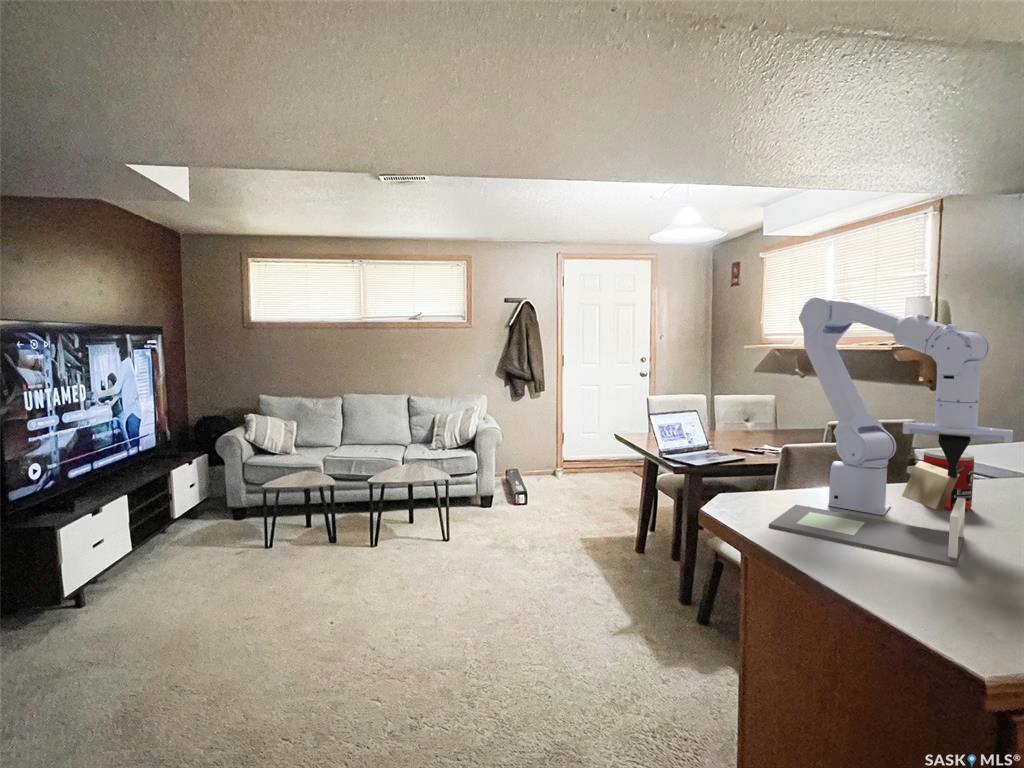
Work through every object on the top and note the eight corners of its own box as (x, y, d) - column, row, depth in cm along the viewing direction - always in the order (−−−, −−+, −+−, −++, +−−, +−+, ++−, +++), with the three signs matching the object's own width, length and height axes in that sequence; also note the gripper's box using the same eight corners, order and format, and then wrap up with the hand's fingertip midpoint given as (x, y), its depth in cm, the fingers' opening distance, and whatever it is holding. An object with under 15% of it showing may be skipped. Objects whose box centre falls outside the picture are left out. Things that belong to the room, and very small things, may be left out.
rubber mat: (768, 527, 96) (768, 523, 96) (795, 507, 108) (795, 504, 108) (955, 567, 78) (955, 563, 78) (963, 538, 90) (963, 535, 90)
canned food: (960, 515, 102) (963, 458, 101) (913, 504, 109) (915, 451, 109) (979, 509, 106) (982, 454, 105) (932, 499, 113) (935, 448, 112)
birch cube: (942, 512, 92) (901, 496, 95) (945, 504, 96) (906, 489, 100) (956, 480, 90) (914, 466, 94) (959, 474, 94) (919, 460, 98)
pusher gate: (948, 556, 80) (950, 515, 79) (955, 534, 89) (957, 497, 89) (956, 558, 79) (958, 517, 79) (963, 535, 88) (965, 498, 88)
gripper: (901, 400, 94) (898, 476, 95) (1014, 406, 84) (1009, 490, 85) (907, 397, 99) (904, 469, 100) (1014, 402, 89) (1010, 482, 90)
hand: (952, 478), depth 93 cm, fingers closed, pressing on birch cube
